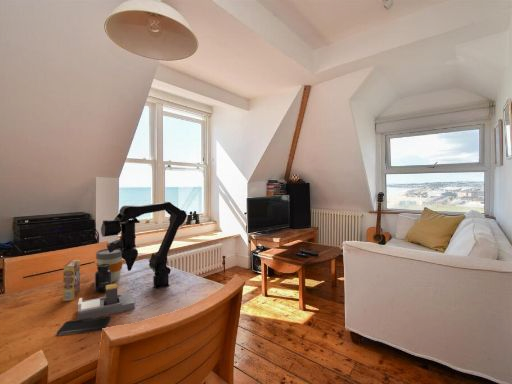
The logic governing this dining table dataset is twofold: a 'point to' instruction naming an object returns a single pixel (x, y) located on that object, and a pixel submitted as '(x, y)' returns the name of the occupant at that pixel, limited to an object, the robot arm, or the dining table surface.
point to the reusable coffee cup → (111, 261)
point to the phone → (84, 325)
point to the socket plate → (108, 307)
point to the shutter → (88, 304)
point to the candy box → (71, 280)
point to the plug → (111, 294)
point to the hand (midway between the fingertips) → (128, 267)
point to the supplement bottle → (102, 278)
